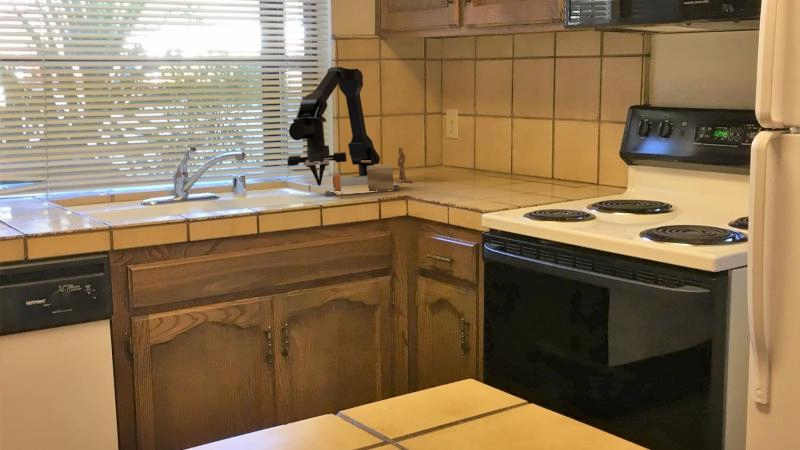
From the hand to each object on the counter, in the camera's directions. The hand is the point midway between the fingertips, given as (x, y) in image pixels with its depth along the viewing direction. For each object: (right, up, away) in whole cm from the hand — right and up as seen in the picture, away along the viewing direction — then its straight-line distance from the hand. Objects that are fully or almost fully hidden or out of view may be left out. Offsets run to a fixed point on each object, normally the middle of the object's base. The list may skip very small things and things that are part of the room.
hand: (319, 185), depth 294 cm
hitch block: (+20, -1, +1) cm, 20 cm away
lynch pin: (+13, -1, +1) cm, 13 cm away
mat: (+14, -2, +1) cm, 14 cm away
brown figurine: (+27, +2, +17) cm, 32 cm away
